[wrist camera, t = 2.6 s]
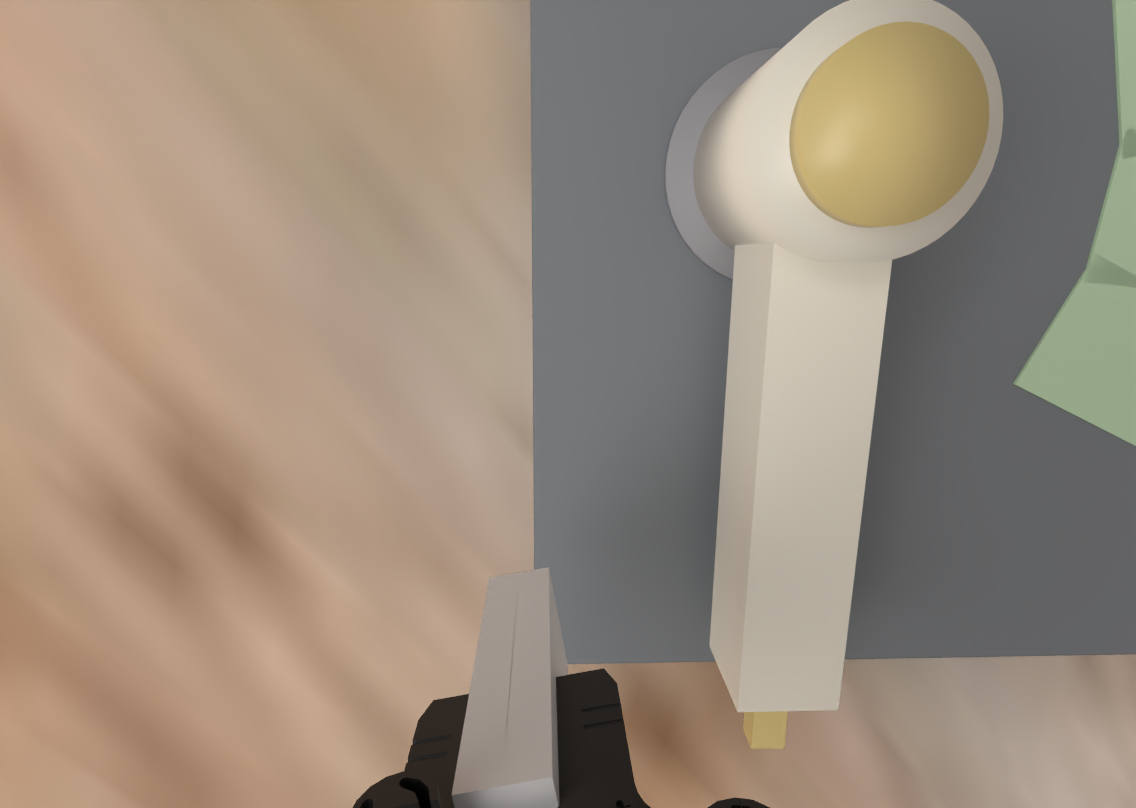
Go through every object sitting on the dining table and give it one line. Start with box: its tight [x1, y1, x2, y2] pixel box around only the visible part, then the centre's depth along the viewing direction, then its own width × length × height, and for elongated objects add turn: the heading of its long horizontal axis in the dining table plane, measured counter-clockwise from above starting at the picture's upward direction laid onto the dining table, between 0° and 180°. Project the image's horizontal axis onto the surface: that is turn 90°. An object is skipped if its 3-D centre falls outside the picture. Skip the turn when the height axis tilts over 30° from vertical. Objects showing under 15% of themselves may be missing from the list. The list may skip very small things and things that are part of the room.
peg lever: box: [693, 0, 1003, 749], centre depth 16 cm, size 19×5×6 cm, turn 0°
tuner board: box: [530, 0, 1136, 664], centre depth 20 cm, size 24×26×2 cm
